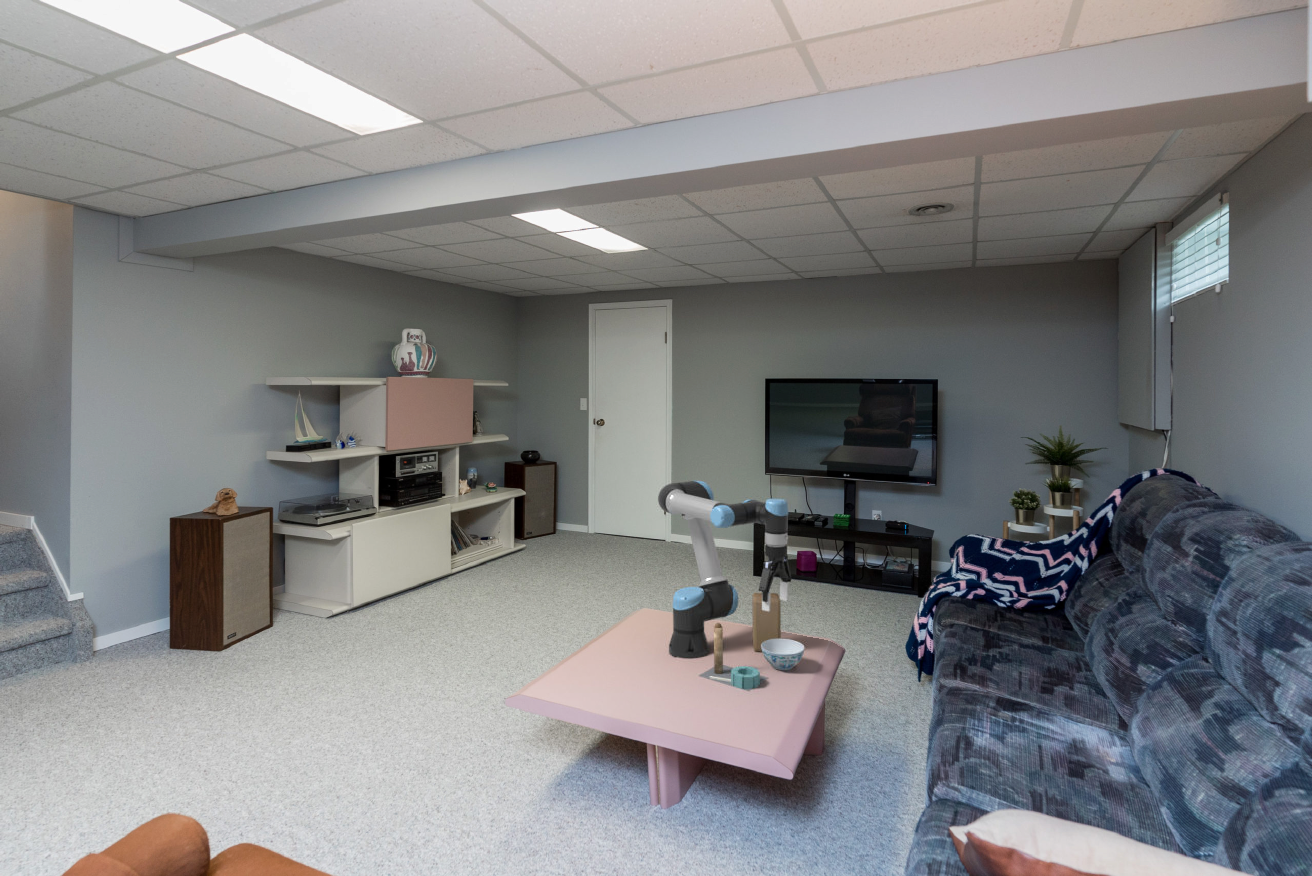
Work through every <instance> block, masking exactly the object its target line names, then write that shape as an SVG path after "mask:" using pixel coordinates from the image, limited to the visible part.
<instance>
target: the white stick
mask: <svg viewBox="0 0 1312 876" xmlns="http://www.w3.org/2000/svg"><path fill="white" fill-rule="evenodd" d="M709 678H711V679H717V680H723V681H729V682H731V679H725V678H719V677H713V676H710V677H709Z"/></svg>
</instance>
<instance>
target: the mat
mask: <svg viewBox="0 0 1312 876" xmlns="http://www.w3.org/2000/svg"><path fill="white" fill-rule="evenodd" d="M733 668H734V667H732V666H728V665H726V664H723V673H722V674H715V673H714V666H713V667H712V668H710V669H708V670H706V671H704V672H702V673H701V674H699V675H698V677H701V678H704V679H707V680H711V681H714V682H717V683H720V684H724V685H727V686H730V687H734V686H733V685H732V683H731V682H729V681H723V680H717V679H711V678H709V677H710V676H713V677H719V678H725V679H731V670H732V669H733ZM768 679H769V677H766V676H764V675H760V684H762V683H764V682H765V681H766V680H768ZM734 688H736V689H738V688H737V687H734ZM742 690H743V691H745V692H746V691H747V692H749V691H752V689H744V688H743V689H742Z"/></svg>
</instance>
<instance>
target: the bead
mask: <svg viewBox="0 0 1312 876" xmlns="http://www.w3.org/2000/svg"><path fill="white" fill-rule="evenodd" d="M732 668H733V669H732V670H731V683H732V685H733V686H734V688H736V687H737V688H736V689H741V690H743V688H744V689H751V690H753V689H756V688H758V687H759V686H760V684H761V683H760V674H761V672H760V671H759V668H756V667H752V666H750V665H749V666H747V665H744V666H743V665H741V666H740V665H739V666H734V667H732ZM733 686H732V687H733Z"/></svg>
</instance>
